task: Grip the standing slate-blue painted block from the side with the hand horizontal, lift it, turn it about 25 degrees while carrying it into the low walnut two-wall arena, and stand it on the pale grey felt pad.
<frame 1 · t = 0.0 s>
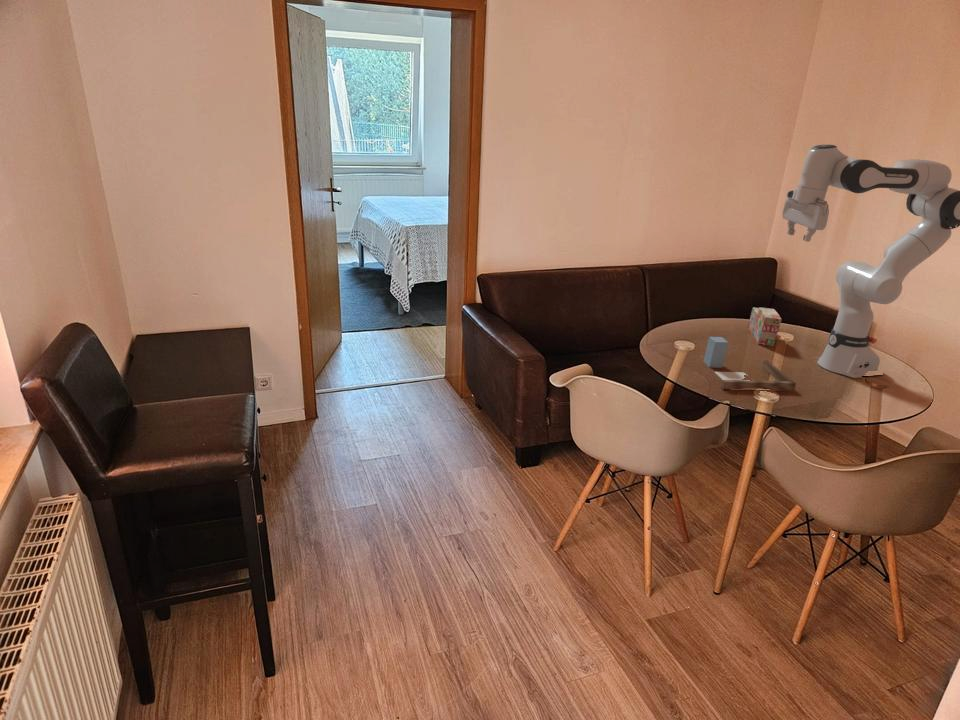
hand: (798, 237, 205), 48 cm above the table, tool pointing down, fingers open, 8 cm apart
felt pad: (736, 379, 212), on the table
slate-blue block: (712, 364, 223), on the table
walnut fence: (741, 376, 214), on the table
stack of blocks: (759, 337, 254), on the table
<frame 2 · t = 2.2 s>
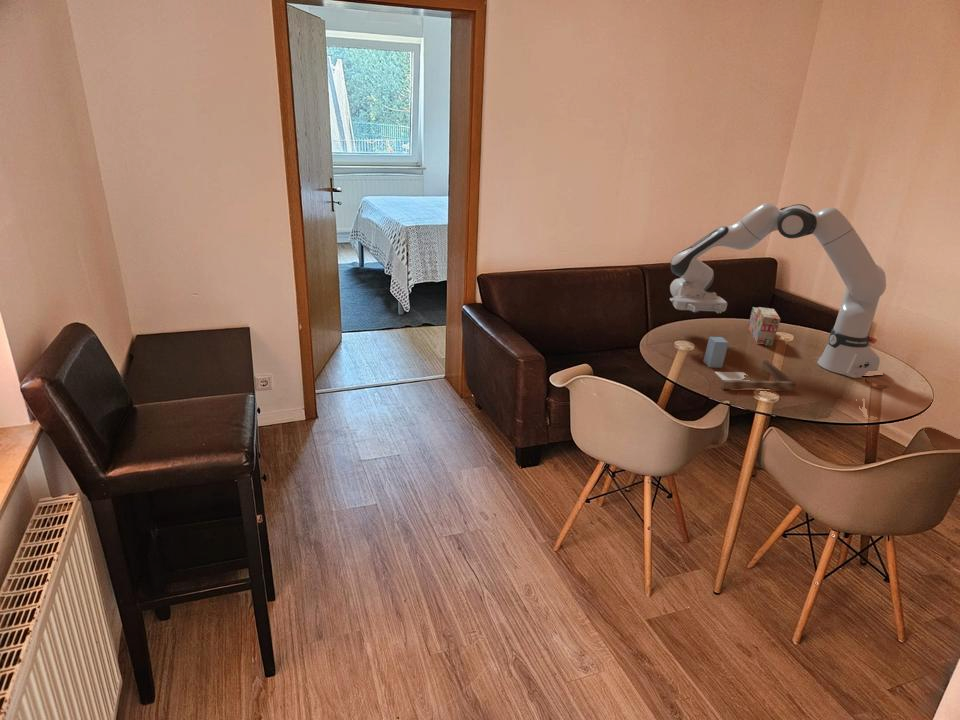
hand: (708, 310, 227), 17 cm above the table, tool horizontal, fingers open, 8 cm apart
nothing on the table moved.
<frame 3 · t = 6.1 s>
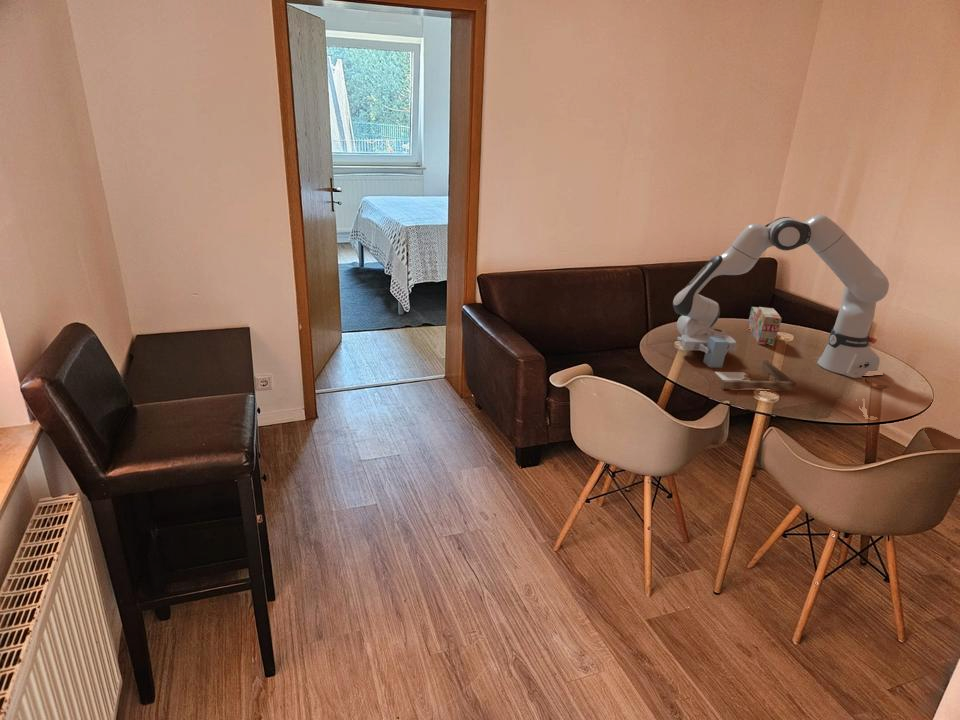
hand: (717, 351, 220), 6 cm above the table, tool horizontal, fingers closed on slate-blue block, 5 cm apart
slate-blue block: (712, 364, 223), on the table, touching gripper
everything else where it was.
when the fingers open (7 cm above the table, at t = 11.4 s): slate-blue block drops 1 cm, resting on felt pad.
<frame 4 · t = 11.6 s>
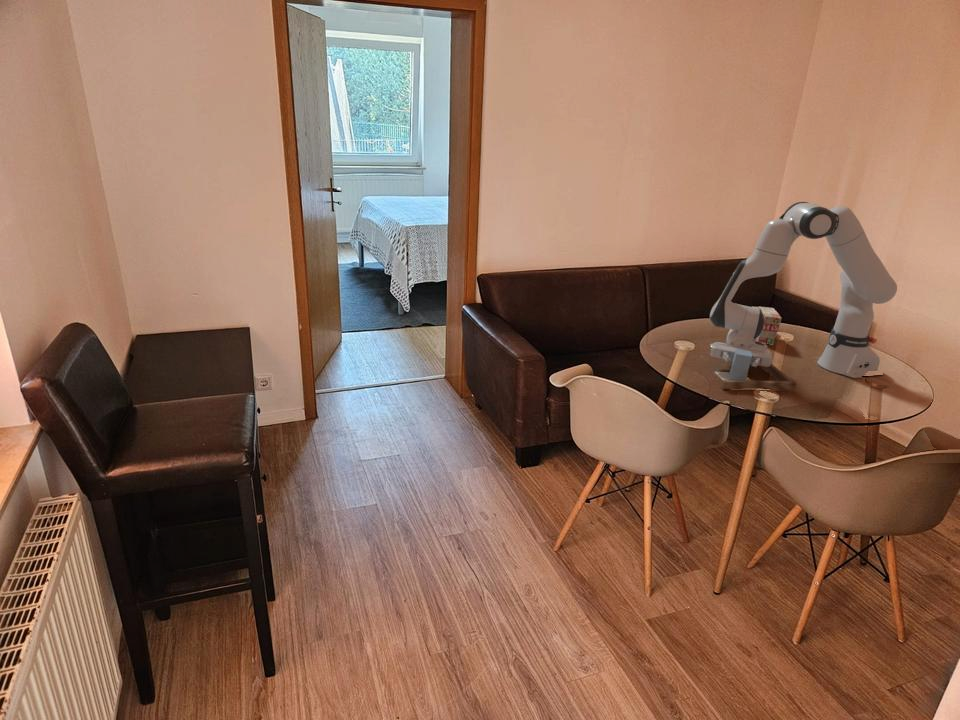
hand: (741, 362, 208), 7 cm above the table, tool horizontal, fingers open, 7 cm apart
slate-blue block: (736, 378, 211), resting on felt pad
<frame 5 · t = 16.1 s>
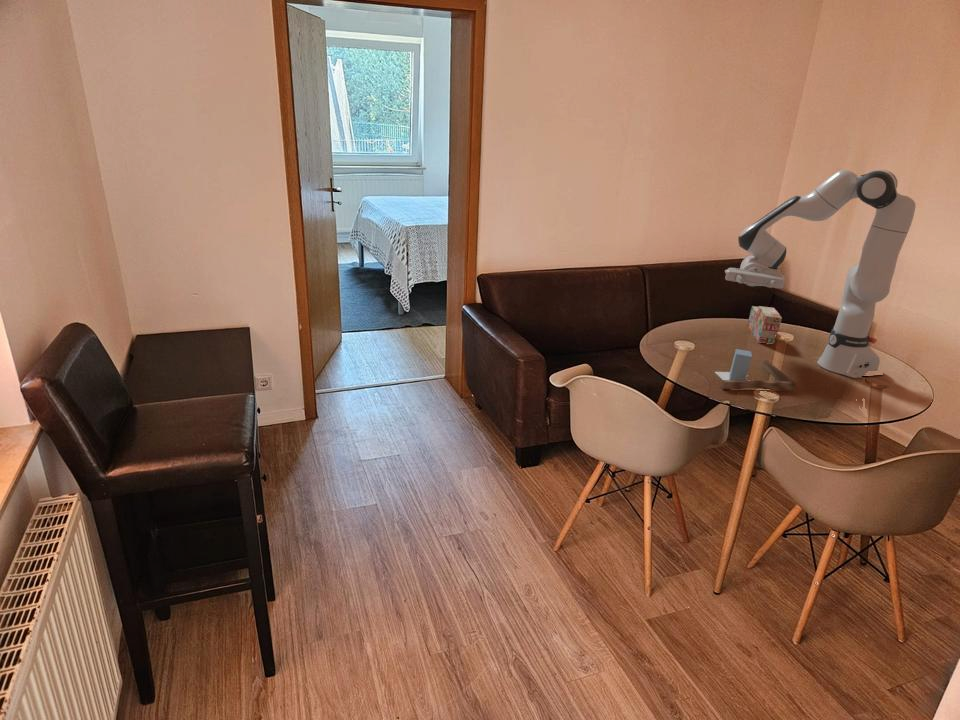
hand: (755, 283, 216), 30 cm above the table, tool horizontal, fingers open, 8 cm apart
at the end: slate-blue block inside the target area (0.0 cm from its centre), resting on felt pad; slate-blue block tilted 0°; the gripper is holding nothing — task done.
